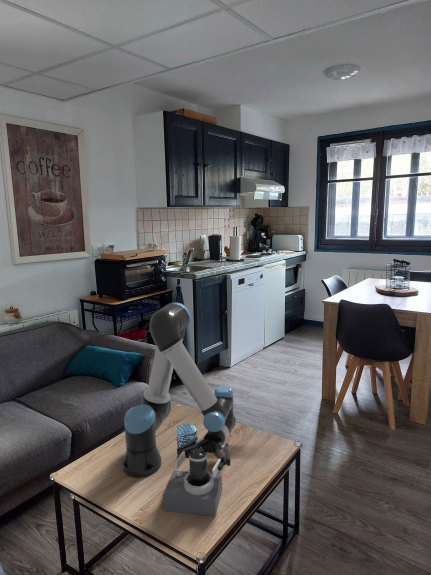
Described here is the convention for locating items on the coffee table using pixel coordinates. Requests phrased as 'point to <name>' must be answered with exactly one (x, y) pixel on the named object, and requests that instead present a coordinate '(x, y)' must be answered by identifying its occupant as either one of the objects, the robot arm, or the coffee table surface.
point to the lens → (198, 467)
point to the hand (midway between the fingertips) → (194, 469)
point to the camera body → (192, 494)
